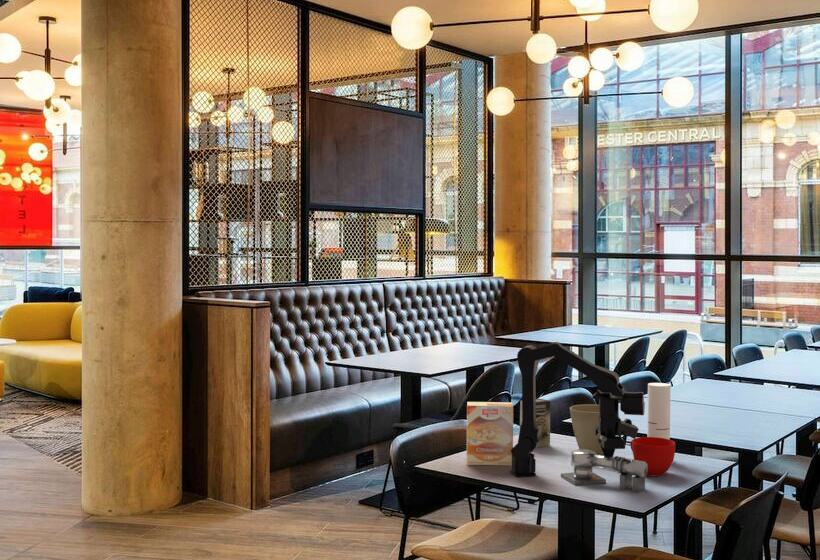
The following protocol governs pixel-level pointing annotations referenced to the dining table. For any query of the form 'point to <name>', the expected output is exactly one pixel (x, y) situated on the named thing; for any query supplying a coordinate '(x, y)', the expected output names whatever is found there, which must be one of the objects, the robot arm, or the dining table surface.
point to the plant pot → (586, 427)
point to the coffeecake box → (489, 433)
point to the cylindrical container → (658, 410)
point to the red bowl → (654, 453)
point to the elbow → (592, 460)
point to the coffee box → (541, 420)
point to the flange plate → (582, 481)
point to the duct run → (632, 468)
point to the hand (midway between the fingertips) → (609, 464)
